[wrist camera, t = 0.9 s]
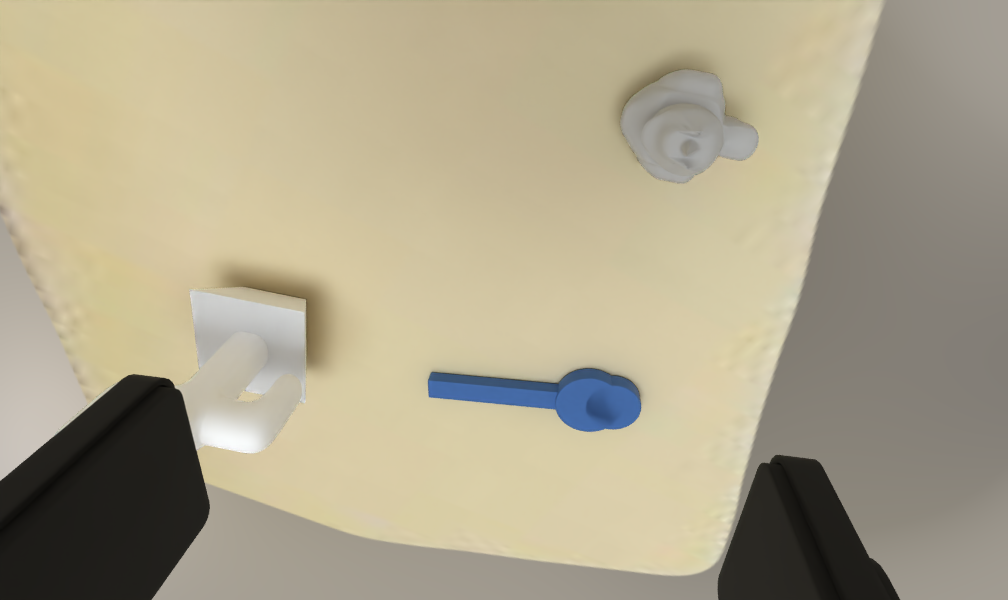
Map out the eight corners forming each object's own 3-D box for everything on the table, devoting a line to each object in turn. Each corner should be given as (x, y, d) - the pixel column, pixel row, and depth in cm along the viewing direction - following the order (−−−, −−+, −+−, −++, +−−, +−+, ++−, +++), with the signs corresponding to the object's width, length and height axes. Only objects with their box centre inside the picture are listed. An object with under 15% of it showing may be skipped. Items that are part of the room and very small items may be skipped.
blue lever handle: (432, 405, 42) (428, 416, 41) (430, 353, 40) (426, 363, 39) (634, 425, 41) (636, 436, 40) (644, 373, 39) (646, 383, 38)
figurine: (340, 374, 42) (234, 551, 29) (214, 348, 42) (51, 513, 29) (343, 288, 38) (223, 445, 25) (205, 260, 39) (15, 403, 25)
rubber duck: (632, 53, 30) (649, 76, 23) (759, 77, 30) (815, 107, 23) (606, 156, 32) (614, 204, 25) (722, 179, 32) (763, 233, 25)
